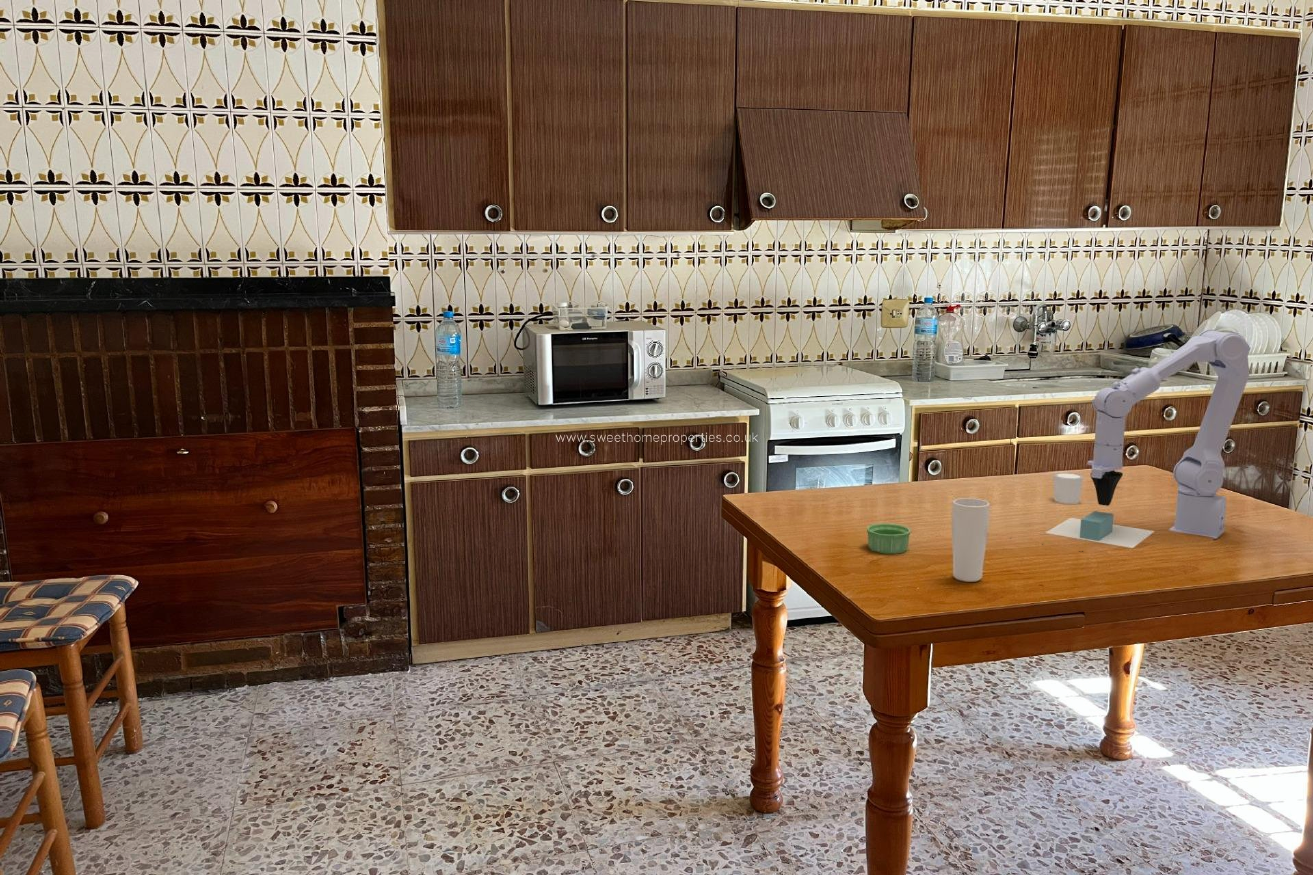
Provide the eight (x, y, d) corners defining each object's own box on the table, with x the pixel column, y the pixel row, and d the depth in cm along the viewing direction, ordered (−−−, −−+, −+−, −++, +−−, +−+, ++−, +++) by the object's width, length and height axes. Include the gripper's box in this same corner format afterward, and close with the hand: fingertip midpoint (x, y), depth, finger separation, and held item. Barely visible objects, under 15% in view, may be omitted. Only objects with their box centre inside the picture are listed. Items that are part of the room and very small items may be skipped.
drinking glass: (978, 572, 197) (982, 497, 194) (991, 583, 190) (995, 506, 187) (944, 572, 197) (947, 498, 194) (955, 584, 190) (959, 506, 187)
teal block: (1113, 513, 220) (1100, 522, 214) (1112, 531, 221) (1099, 540, 215) (1094, 510, 223) (1080, 519, 216) (1093, 528, 224) (1079, 537, 217)
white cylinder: (1076, 500, 251) (1078, 472, 250) (1085, 507, 244) (1087, 478, 243) (1048, 499, 252) (1049, 472, 250) (1056, 506, 245) (1058, 478, 244)
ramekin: (915, 546, 214) (916, 526, 213) (902, 557, 207) (903, 537, 206) (874, 540, 219) (874, 520, 218) (860, 551, 211) (860, 531, 210)
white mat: (1154, 533, 221) (1154, 531, 221) (1132, 550, 209) (1132, 547, 209) (1070, 520, 233) (1070, 517, 233) (1045, 535, 221) (1045, 532, 221)
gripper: (1100, 436, 227) (1096, 495, 229) (1078, 446, 216) (1074, 508, 218) (1134, 440, 222) (1129, 500, 225) (1113, 450, 211) (1108, 513, 214)
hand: (1104, 504), depth 221 cm, fingers closed
